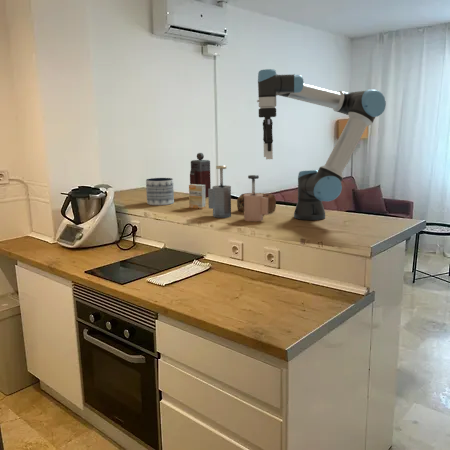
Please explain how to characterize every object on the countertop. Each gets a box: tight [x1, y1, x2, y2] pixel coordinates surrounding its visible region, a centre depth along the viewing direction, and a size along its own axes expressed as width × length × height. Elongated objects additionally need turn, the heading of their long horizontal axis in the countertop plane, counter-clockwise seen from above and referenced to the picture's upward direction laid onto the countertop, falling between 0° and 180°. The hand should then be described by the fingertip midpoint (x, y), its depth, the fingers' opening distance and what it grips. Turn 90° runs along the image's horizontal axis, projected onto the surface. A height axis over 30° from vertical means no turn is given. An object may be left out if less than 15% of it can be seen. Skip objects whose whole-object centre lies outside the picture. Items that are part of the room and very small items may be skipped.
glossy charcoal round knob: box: [247, 174, 260, 196], centre depth 223 cm, size 5×5×12 cm
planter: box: [145, 177, 175, 206], centre depth 276 cm, size 16×16×14 cm
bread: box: [236, 192, 277, 214], centre depth 246 cm, size 19×11×10 cm, turn 53°
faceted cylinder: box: [207, 184, 232, 219], centre depth 234 cm, size 9×12×15 cm
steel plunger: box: [215, 165, 227, 187], centre depth 231 cm, size 5×5×13 cm
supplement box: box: [188, 184, 207, 210], centre depth 258 cm, size 8×5×13 cm, turn 68°
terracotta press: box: [243, 193, 269, 222], centre depth 224 cm, size 9×12×12 cm
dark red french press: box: [189, 152, 212, 198], centre depth 296 cm, size 9×11×28 cm
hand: (268, 158), depth 203 cm, fingers open, 13 cm apart
